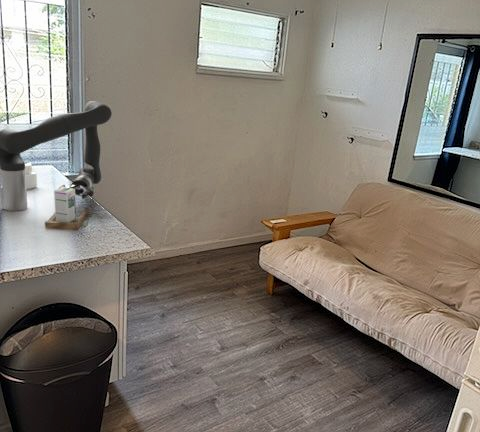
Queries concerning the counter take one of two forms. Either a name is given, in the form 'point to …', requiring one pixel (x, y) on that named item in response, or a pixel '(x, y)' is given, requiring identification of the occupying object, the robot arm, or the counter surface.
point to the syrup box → (65, 205)
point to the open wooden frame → (68, 225)
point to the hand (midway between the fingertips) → (72, 195)
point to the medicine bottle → (30, 176)
